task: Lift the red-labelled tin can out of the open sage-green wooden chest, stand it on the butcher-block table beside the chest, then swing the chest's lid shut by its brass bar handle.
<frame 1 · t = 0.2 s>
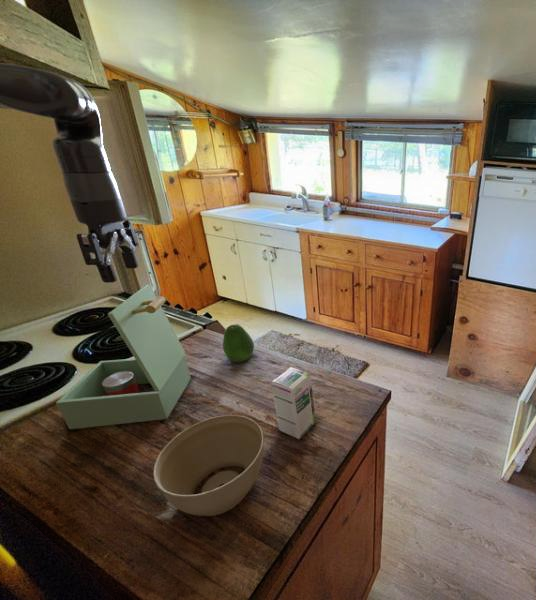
hand: (122, 274, 70), 31 cm above the counter, tool pointing down, fingers open, 8 cm apart
avocado: (242, 361, 95), on the counter
syrup box: (297, 429, 73), on the counter
lid: (163, 334, 72), point 19 cm above the counter, hinge at 80.0°
chest: (138, 404, 78), on the counter
can: (127, 402, 77), point 1 cm above the counter, touching chest
planter bowl: (224, 492, 59), on the counter
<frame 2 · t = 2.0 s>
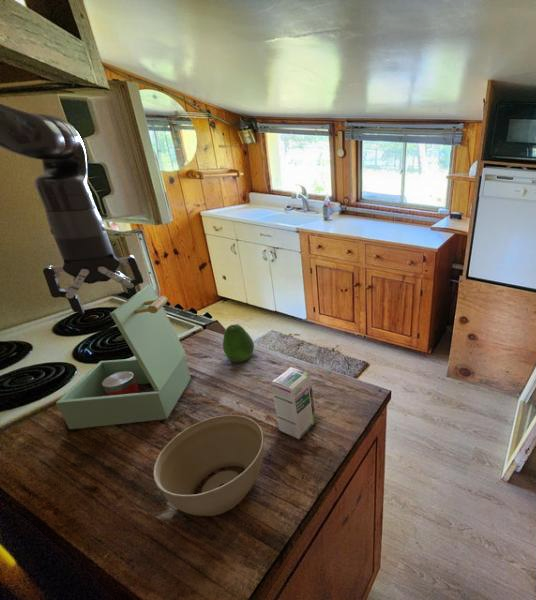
hand: (108, 307, 69), 25 cm above the counter, tool pointing down, fingers open, 8 cm apart
lid: (164, 334, 72), point 19 cm above the counter, hinge at 81.2°
everything else where it was.
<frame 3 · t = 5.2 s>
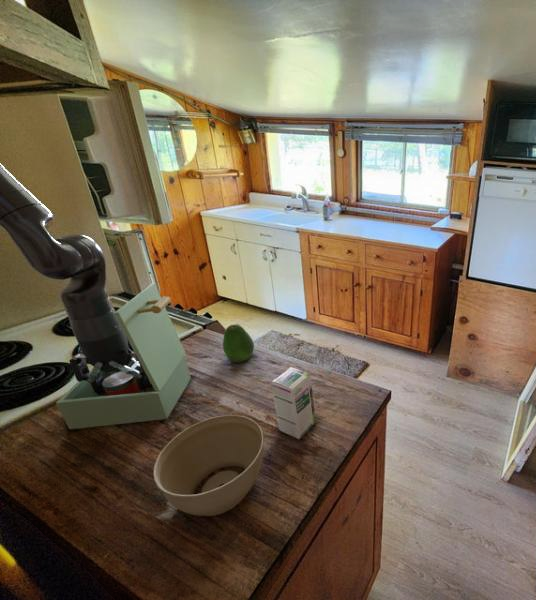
hand: (124, 390, 76), 4 cm above the counter, tool pointing down, fingers open, 8 cm apart
lid: (165, 334, 72), point 19 cm above the counter, hinge at 83.2°
everything else where it was.
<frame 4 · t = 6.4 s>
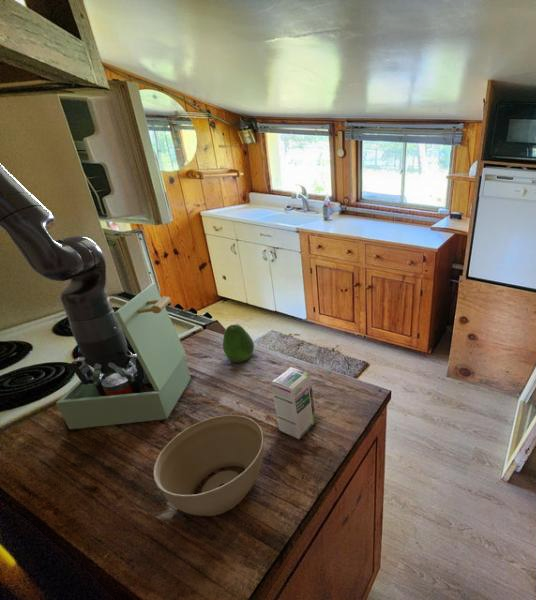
hand: (123, 393, 76), 3 cm above the counter, tool pointing down, fingers closed on can, 5 cm apart
can: (126, 402, 77), point 1 cm above the counter, touching gripper
everything else where it was.
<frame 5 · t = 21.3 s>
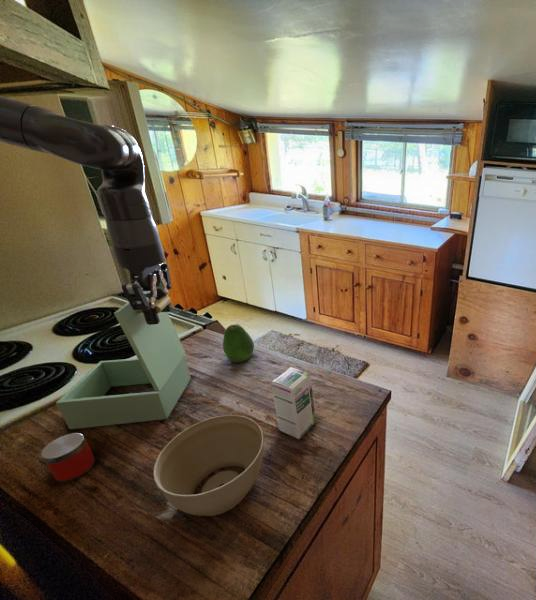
hand: (159, 317, 70), 23 cm above the counter, tool pointing down, fingers closed on lid, 5 cm apart
lid: (165, 334, 72), point 19 cm above the counter, hinge at 83.2°, touching gripper
can: (77, 471, 62), on the counter
everything else where it was.
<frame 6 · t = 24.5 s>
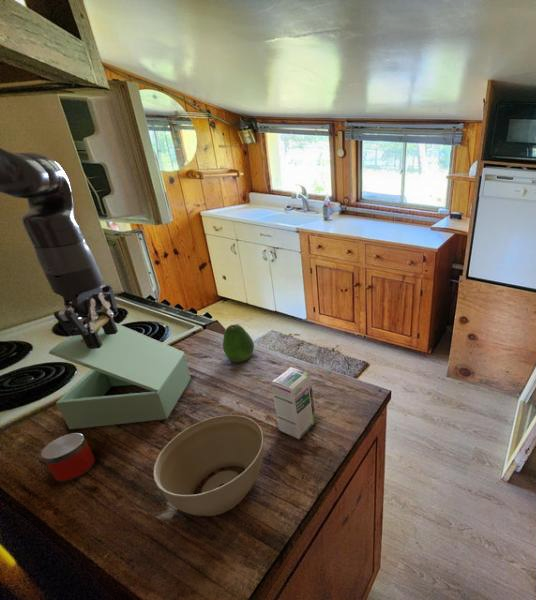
hand: (104, 340, 70), 18 cm above the counter, tool pointing down, fingers closed on lid, 5 cm apart
lid: (130, 345, 71), point 16 cm above the counter, hinge at 37.0°, touching gripper
everything else where it was.
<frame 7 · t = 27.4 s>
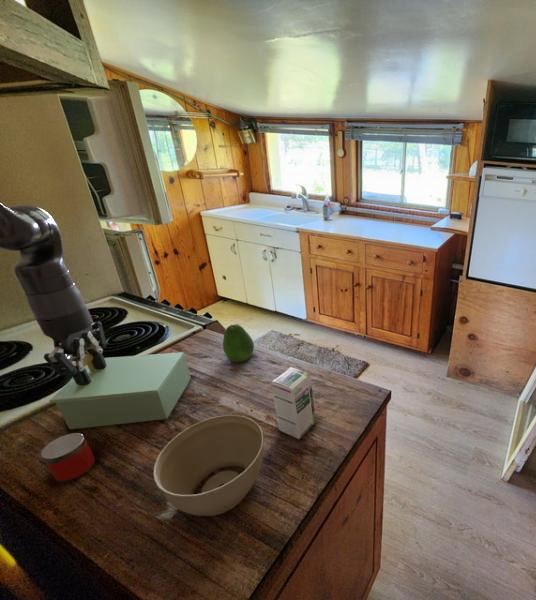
hand: (93, 375, 73), 9 cm above the counter, tool pointing down, fingers closed on lid, 5 cm apart
lid: (121, 367, 73), point 11 cm above the counter, hinge at -0.2°, touching chest, gripper
everything else where it was.
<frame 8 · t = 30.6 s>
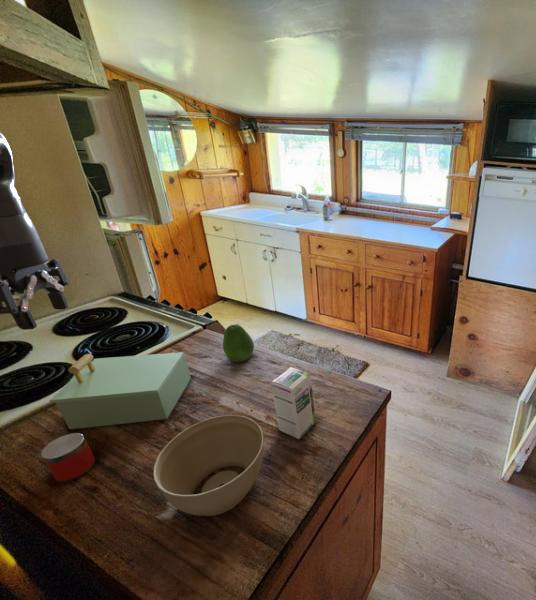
hand: (46, 318, 66), 24 cm above the counter, tool pointing down, fingers open, 8 cm apart
lid: (121, 367, 73), point 11 cm above the counter, hinge at -0.2°, touching chest
everything else where it was.
at the end: can inside the target area (0.1 cm from its centre), on the counter; can tilted 0°; lid at +0° (first picture: +80°) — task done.
